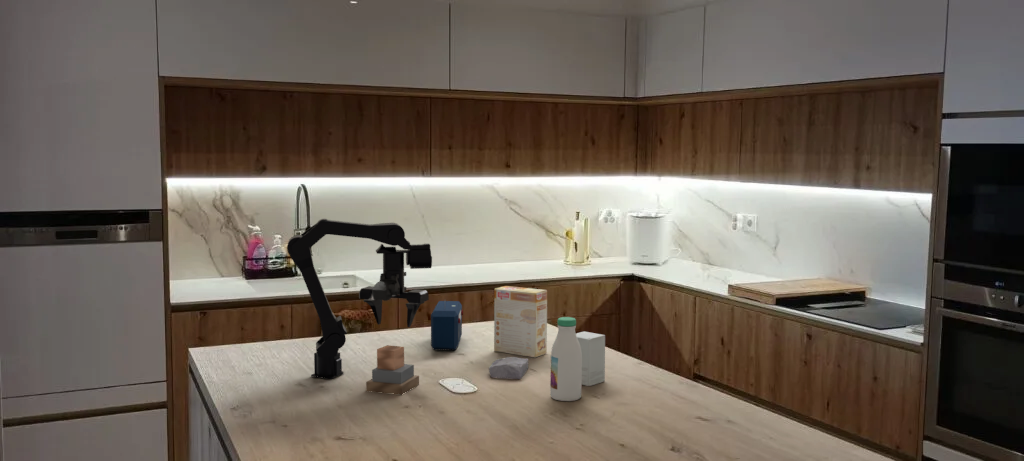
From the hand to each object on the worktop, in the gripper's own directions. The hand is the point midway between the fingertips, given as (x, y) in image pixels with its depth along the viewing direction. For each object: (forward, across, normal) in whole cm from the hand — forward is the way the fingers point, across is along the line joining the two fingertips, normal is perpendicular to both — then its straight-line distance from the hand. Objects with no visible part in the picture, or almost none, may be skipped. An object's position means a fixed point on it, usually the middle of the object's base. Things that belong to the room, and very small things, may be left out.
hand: (393, 325), depth 234 cm
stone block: (+14, +29, +11) cm, 34 cm away
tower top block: (+11, +7, -14) cm, 19 cm away
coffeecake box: (+13, +25, +34) cm, 44 cm away
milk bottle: (+13, +51, -6) cm, 53 cm away
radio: (+13, 0, +36) cm, 38 cm away
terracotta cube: (+8, +6, -14) cm, 17 cm away
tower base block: (+14, +7, -14) cm, 21 cm away
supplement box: (+13, +52, +10) cm, 55 cm away
